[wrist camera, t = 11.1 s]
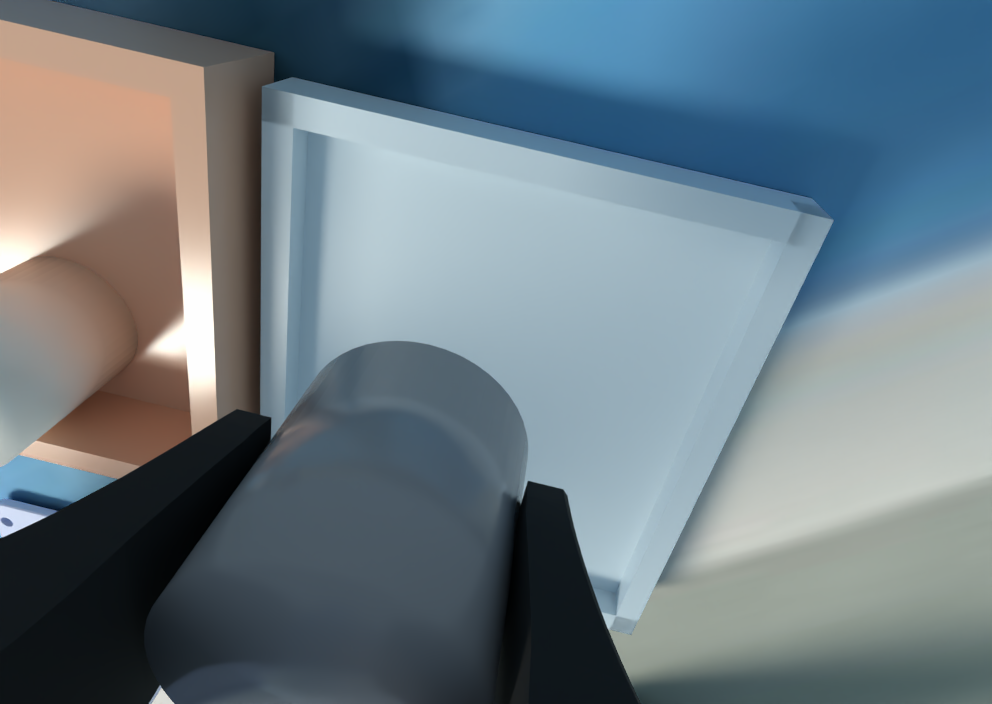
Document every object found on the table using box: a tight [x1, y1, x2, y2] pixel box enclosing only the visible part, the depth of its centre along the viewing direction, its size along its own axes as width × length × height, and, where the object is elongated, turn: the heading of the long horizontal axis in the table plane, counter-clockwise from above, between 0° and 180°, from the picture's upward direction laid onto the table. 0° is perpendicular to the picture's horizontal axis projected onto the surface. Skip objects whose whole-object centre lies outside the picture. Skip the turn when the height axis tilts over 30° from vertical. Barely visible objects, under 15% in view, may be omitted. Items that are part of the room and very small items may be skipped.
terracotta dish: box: [0, 0, 274, 479], centre depth 19 cm, size 13×13×4 cm
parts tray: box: [260, 77, 834, 635], centre depth 20 cm, size 16×14×2 cm
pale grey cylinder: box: [0, 256, 138, 467], centre depth 19 cm, size 4×4×5 cm
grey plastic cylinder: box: [144, 341, 528, 704], centre depth 10 cm, size 4×4×5 cm
